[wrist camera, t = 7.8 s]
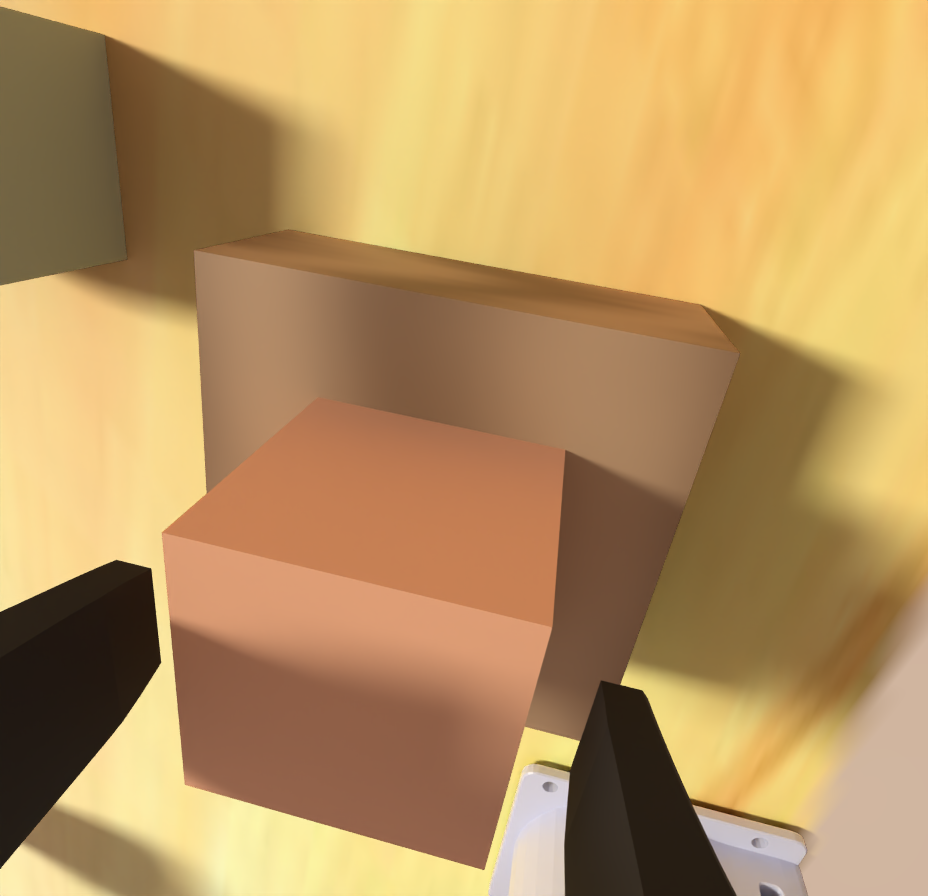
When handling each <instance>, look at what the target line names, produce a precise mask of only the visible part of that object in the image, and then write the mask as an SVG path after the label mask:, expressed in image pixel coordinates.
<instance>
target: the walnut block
mask: <svg viewBox="0 0 928 896" xmlns="http://www.w3.org/2000/svg"><path fill="white" fill-rule="evenodd" d="M194 262H195V281H196V300H197V319H198V338H199V357H200V376H201V395H202V413H203V432H204V451H205V470H206V489H207V493H208V492H209V491H210V490H212V489H213V488H214V487H215V486H216V485H217V484H218V483H220V482H221V481H222V480H223V479H224V478H225V477H227V476H228V475H229V474H230V473H231V472H232V471H233V470H235V469H236V468H237V467H238V466H239V465H240V464H242V463H243V462H244V461H245V460H246V459H247V458H248V457H250V456H251V455H252V454H253V453H254V452H255V451H256V450H258V449H259V448H260V447H261V446H262V445H263V444H265V443H266V442H267V441H268V440H269V439H270V438H271V437H273V436H274V435H275V434H276V433H277V432H278V431H280V430H281V429H282V428H283V427H284V426H285V425H286V424H288V423H289V422H290V421H291V420H292V419H293V418H295V417H296V416H297V415H298V414H299V413H300V412H301V411H303V410H304V409H305V408H306V407H307V406H308V405H309V404H311V403H312V402H313V401H314V400H315V399H316V398H318V397H320V398H325V399H329V400H334V401H339V402H344V403H348V404H353V405H358V406H362V407H367V408H372V409H376V410H381V411H386V412H391V413H395V414H400V415H405V416H409V417H414V418H419V419H423V420H428V421H433V422H437V423H442V424H447V425H452V426H456V427H461V428H466V429H470V430H475V431H480V432H484V433H489V434H494V435H499V436H503V437H508V438H513V439H517V440H522V441H527V442H531V443H536V444H541V445H545V446H550V447H555V448H560V449H564V450H565V462H564V475H563V489H562V503H561V517H560V530H559V544H558V558H557V571H556V585H555V599H554V613H553V626H552V631H551V634H550V638H549V641H548V645H547V648H546V652H545V656H544V659H543V663H542V666H541V670H540V673H539V677H538V680H537V684H536V688H535V691H534V695H533V698H532V702H531V705H530V709H529V712H528V716H527V720H526V723H525V727H528V728H532V729H536V730H540V731H544V732H548V733H552V734H556V735H559V736H563V737H567V738H571V739H575V740H579V741H580V740H581V737H582V734H583V731H584V728H585V725H586V722H587V719H588V717H589V714H590V711H591V708H592V705H593V702H594V699H595V696H596V693H597V690H598V687H599V684H600V681H601V680H602V681H606V682H610V683H614V684H618V685H620V683H621V681H622V678H623V675H624V672H625V670H626V667H627V664H628V661H629V659H630V656H631V653H632V650H633V648H634V645H635V642H636V639H637V637H638V634H639V631H640V628H641V626H642V623H643V620H644V617H645V615H646V612H647V609H648V606H649V604H650V601H651V598H652V595H653V593H654V590H655V587H656V584H657V582H658V579H659V576H660V573H661V571H662V568H663V565H664V562H665V560H666V557H667V554H668V551H669V548H670V546H671V543H672V540H673V537H674V535H675V532H676V529H677V526H678V524H679V521H680V518H681V515H682V513H683V510H684V507H685V504H686V502H687V499H688V496H689V493H690V491H691V488H692V485H693V482H694V480H695V477H696V474H697V471H698V469H699V466H700V463H701V460H702V458H703V455H704V452H705V449H706V447H707V444H708V441H709V438H710V436H711V433H712V430H713V427H714V425H715V422H716V419H717V416H718V414H719V411H720V408H721V405H722V403H723V400H724V397H725V394H726V392H727V389H728V386H729V383H730V381H731V378H732V375H733V372H734V370H735V367H736V364H737V361H738V359H739V356H740V352H739V351H738V350H737V349H736V348H735V346H734V345H733V344H732V343H731V341H730V340H729V339H728V338H727V336H726V335H725V334H724V333H723V332H722V330H721V329H720V328H719V327H718V325H717V324H716V323H715V322H714V321H713V319H712V318H711V317H710V316H709V314H708V313H707V312H706V311H705V309H704V308H703V307H702V306H701V305H699V304H694V303H688V302H683V301H677V300H672V299H666V298H661V297H655V296H650V295H644V294H639V293H633V292H628V291H622V290H617V289H611V288H606V287H600V286H595V285H589V284H584V283H578V282H573V281H567V280H562V279H556V278H551V277H545V276H540V275H535V274H529V273H524V272H518V271H513V270H507V269H502V268H496V267H491V266H485V265H480V264H474V263H469V262H463V261H458V260H452V259H447V258H441V257H436V256H430V255H425V254H419V253H414V252H408V251H403V250H397V249H392V248H386V247H381V246H375V245H370V244H364V243H359V242H353V241H348V240H342V239H337V238H331V237H326V236H320V235H315V234H309V233H304V232H298V231H293V230H284V231H279V232H275V233H270V234H266V235H261V236H257V237H252V238H247V239H243V240H238V241H234V242H229V243H225V244H220V245H216V246H211V247H206V248H202V249H197V250H194Z"/></svg>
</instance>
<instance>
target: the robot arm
mask: <svg viewBox="0 0 928 896" xmlns="http://www.w3.org/2000/svg"><path fill="white" fill-rule="evenodd" d="M160 664H161V657H160V647H159V638H158V628H157V619H156V609H155V599H154V590H153V580H152V571H151V568H147V567H143V566H139V565H135V564H131V563H127V562H123V561H119V560H115V561H113V562H110V563H108V564H105V565H103V566H101V567H98V568H96V569H94V570H91V571H89V572H87V573H84V574H82V575H80V576H78V577H76V578H73V579H71V580H69V581H67V582H65V583H62V584H60V585H58V586H56V587H54V588H51V589H49V590H47V591H45V592H43V593H41V594H38V595H36V596H34V597H32V598H30V599H28V600H25V601H23V602H21V603H19V604H17V605H15V606H12V607H10V608H8V609H6V610H4V611H1V612H0V869H1V867H2V866H3V865H4V864H5V862H6V861H7V860H8V859H9V858H10V856H11V855H12V854H13V853H14V852H15V850H16V849H17V848H18V847H19V846H20V845H21V843H22V842H23V841H24V840H25V839H26V837H27V836H28V835H29V834H30V833H31V831H32V830H33V829H34V828H35V827H36V825H37V824H38V823H39V822H40V821H41V820H42V818H43V817H44V816H45V815H46V814H47V812H48V811H49V810H50V809H51V808H52V806H53V805H54V804H55V803H56V802H57V800H58V799H59V798H60V797H61V796H62V794H63V793H64V792H65V791H66V790H67V789H68V787H69V786H70V785H71V784H72V783H73V781H74V780H75V779H76V778H77V777H78V775H79V774H80V773H81V772H82V771H83V769H84V768H85V767H86V766H87V765H88V763H89V762H90V761H91V760H92V759H93V757H94V756H95V755H96V754H97V753H98V751H99V750H100V749H101V748H102V746H103V745H104V744H105V743H106V742H107V740H108V739H109V738H110V737H111V736H112V734H113V733H114V732H115V731H116V729H117V728H118V727H119V726H120V724H121V723H122V722H123V720H124V719H125V717H126V716H127V714H128V713H129V712H130V710H131V709H132V707H133V706H134V704H135V703H136V701H137V700H138V698H139V697H140V695H141V694H142V692H143V691H144V689H145V687H146V686H147V684H148V683H149V681H150V680H151V678H152V676H153V675H154V673H155V672H156V670H157V668H158V667H159V665H160ZM806 853H807V848H806V845H805V842H804V839H803V837H802V836H801V835H800V834H798V833H796V832H793V831H790V830H786V829H783V828H779V827H775V826H771V825H767V824H764V823H760V822H756V821H752V820H748V819H745V818H741V817H737V816H733V815H730V814H726V813H722V812H718V811H714V810H711V809H707V808H703V807H699V806H695V805H692V803H691V801H690V799H689V796H688V794H687V792H686V790H685V788H684V785H683V783H682V781H681V778H680V776H679V774H678V772H677V769H676V767H675V765H674V762H673V760H672V758H671V755H670V753H669V751H668V748H667V746H666V744H665V741H664V739H663V736H662V734H661V731H660V729H659V726H658V724H657V721H656V719H655V716H654V714H653V711H652V709H651V706H650V703H649V701H648V698H647V697H646V695H645V694H644V692H643V691H642V690H638V689H634V688H630V687H626V686H622V685H618V684H614V683H610V682H606V681H602V680H601V681H600V684H599V687H598V690H597V693H596V696H595V699H594V702H593V705H592V708H591V711H590V714H589V717H588V719H587V722H586V725H585V728H584V731H583V734H582V737H581V740H580V743H579V746H578V749H577V752H576V755H575V758H574V761H573V764H572V766H571V769H570V772H566V771H563V770H559V769H555V768H551V767H547V766H544V765H540V764H529V765H527V766H525V767H524V768H523V770H522V773H521V777H520V780H519V783H518V787H517V790H516V794H515V797H514V801H513V804H512V808H511V811H510V815H509V818H508V822H507V825H506V829H505V832H504V836H503V839H502V843H501V846H500V850H499V853H498V856H497V860H496V863H495V867H494V870H493V874H492V877H491V881H490V885H489V896H808V895H807V891H806V887H805V884H804V881H803V877H802V874H801V871H800V868H799V866H798V865H799V864H800V862H801V861H802V859H803V858H804V856H805V855H806Z"/></svg>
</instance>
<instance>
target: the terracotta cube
mask: <svg viewBox="0 0 928 896" xmlns="http://www.w3.org/2000/svg"><path fill="white" fill-rule="evenodd" d="M564 462H565V450H564V449H560V448H555V447H550V446H545V445H541V444H536V443H531V442H527V441H522V440H517V439H513V438H508V437H503V436H499V435H494V434H489V433H484V432H480V431H475V430H470V429H466V428H461V427H456V426H452V425H447V424H442V423H437V422H433V421H428V420H423V419H419V418H414V417H409V416H405V415H400V414H395V413H391V412H386V411H381V410H376V409H372V408H367V407H362V406H358V405H353V404H348V403H344V402H339V401H334V400H329V399H325V398H320V397H318V398H316V399H315V400H314V401H313V402H312V403H311V404H309V405H308V406H307V407H306V408H305V409H304V410H303V411H301V412H300V413H299V414H298V415H297V416H296V417H295V418H293V419H292V420H291V421H290V422H289V423H288V424H286V425H285V426H284V427H283V428H282V429H281V430H280V431H278V432H277V433H276V434H275V435H274V436H273V437H271V438H270V439H269V440H268V441H267V442H266V443H265V444H263V445H262V446H261V447H260V448H259V449H258V450H256V451H255V452H254V453H253V454H252V455H251V456H250V457H248V458H247V459H246V460H245V461H244V462H243V463H242V464H240V465H239V466H238V467H237V468H236V469H235V470H233V471H232V472H231V473H230V474H229V475H228V476H227V477H225V478H224V479H223V480H222V481H221V482H220V483H218V484H217V485H216V486H215V487H214V488H213V489H212V490H210V491H209V492H208V493H207V494H206V495H205V496H204V497H202V498H201V499H200V500H199V501H198V502H197V503H195V504H194V505H193V506H192V507H191V508H190V509H189V510H187V511H186V512H185V513H184V514H183V515H182V516H180V517H179V518H178V519H177V520H176V521H175V522H174V523H172V524H171V525H170V526H169V527H168V528H167V529H165V530H164V531H163V532H162V540H163V551H164V562H165V572H166V583H167V594H168V605H169V616H170V627H171V638H172V649H173V660H174V671H175V682H176V692H177V703H178V714H179V725H180V736H181V747H182V758H183V769H184V780H185V785H188V786H192V787H195V788H199V789H202V790H206V791H209V792H213V793H216V794H220V795H223V796H227V797H230V798H234V799H237V800H241V801H244V802H248V803H251V804H255V805H258V806H262V807H265V808H269V809H272V810H276V811H279V812H283V813H286V814H290V815H293V816H297V817H300V818H304V819H307V820H311V821H314V822H318V823H321V824H325V825H328V826H332V827H335V828H339V829H342V830H346V831H349V832H353V833H356V834H360V835H363V836H367V837H370V838H374V839H377V840H381V841H384V842H388V843H391V844H395V845H398V846H402V847H405V848H409V849H412V850H416V851H419V852H423V853H426V854H430V855H433V856H437V857H440V858H444V859H447V860H451V861H454V862H458V863H461V864H465V865H468V866H472V867H475V868H479V869H482V870H484V869H485V865H486V862H487V858H488V855H489V851H490V848H491V844H492V841H493V837H494V833H495V830H496V826H497V823H498V819H499V816H500V812H501V809H502V805H503V801H504V798H505V794H506V791H507V787H508V784H509V780H510V777H511V773H512V769H513V766H514V762H515V759H516V755H517V752H518V748H519V744H520V741H521V737H522V734H523V730H524V727H525V723H526V720H527V716H528V712H529V709H530V705H531V702H532V698H533V695H534V691H535V688H536V684H537V680H538V677H539V673H540V670H541V666H542V663H543V659H544V656H545V652H546V648H547V645H548V641H549V638H550V634H551V631H552V626H553V613H554V599H555V585H556V571H557V558H558V544H559V530H560V517H561V503H562V489H563V475H564Z"/></svg>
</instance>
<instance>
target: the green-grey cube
mask: <svg viewBox="0 0 928 896" xmlns="http://www.w3.org/2000/svg"><path fill="white" fill-rule="evenodd" d="M122 260H127V252H126V242H125V232H124V222H123V212H122V202H121V192H120V182H119V172H118V162H117V152H116V142H115V132H114V122H113V112H112V102H111V93H110V83H109V73H108V63H107V53H106V43H105V35H103V34H100V33H96V32H92V31H89V30H85V29H81V28H78V27H74V26H70V25H67V24H63V23H59V22H55V21H52V20H48V19H44V18H41V17H37V16H33V15H30V14H26V13H22V12H19V11H15V10H11V9H8V8H4V7H0V285H5V284H9V283H14V282H19V281H24V280H29V279H34V278H39V277H44V276H49V275H54V274H58V273H63V272H68V271H73V270H78V269H83V268H88V267H93V266H98V265H103V264H108V263H112V262H117V261H122Z"/></svg>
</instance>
